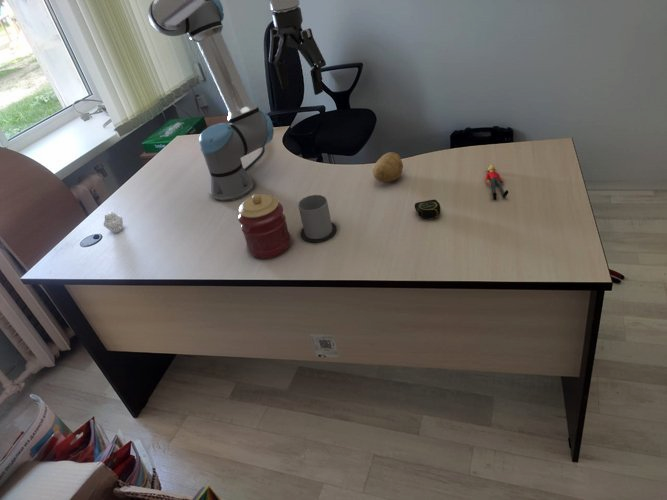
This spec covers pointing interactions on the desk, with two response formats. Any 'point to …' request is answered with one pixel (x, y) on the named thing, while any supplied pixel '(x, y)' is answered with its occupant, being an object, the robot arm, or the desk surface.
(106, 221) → the beige knobbly lump
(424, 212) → the tape measure
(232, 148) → the robot arm
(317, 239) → the coaster
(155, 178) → the desk surface
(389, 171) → the potato
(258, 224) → the kitchen canister
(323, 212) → the cup
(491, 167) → the person figure
